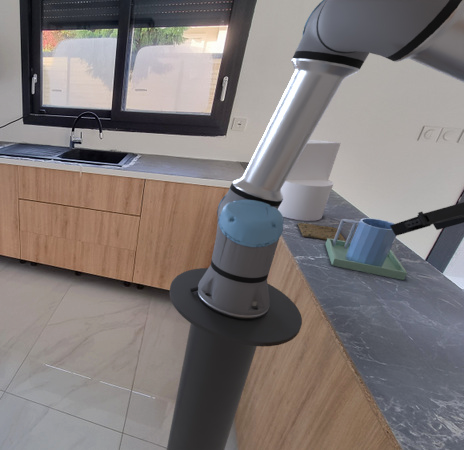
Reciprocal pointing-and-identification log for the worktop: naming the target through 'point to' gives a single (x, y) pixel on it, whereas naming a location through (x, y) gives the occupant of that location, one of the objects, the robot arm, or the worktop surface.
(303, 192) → the white rounded block
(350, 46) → the robot arm
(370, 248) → the tumbler
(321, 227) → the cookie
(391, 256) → the dish rack
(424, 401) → the worktop surface
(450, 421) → the worktop surface
